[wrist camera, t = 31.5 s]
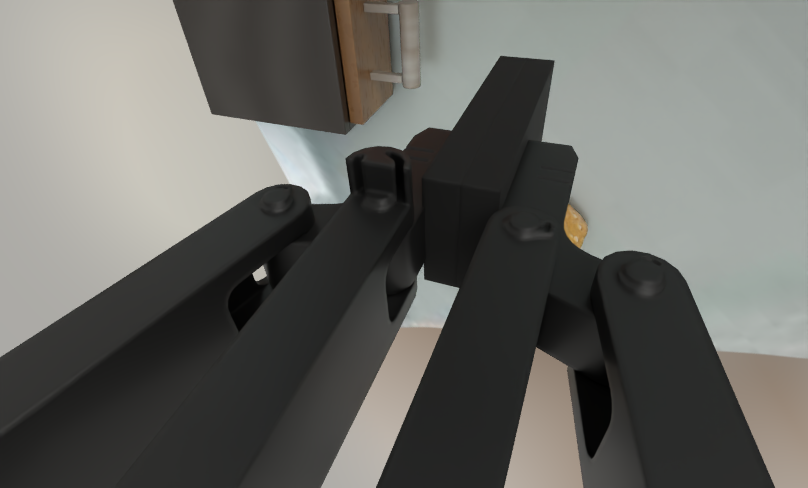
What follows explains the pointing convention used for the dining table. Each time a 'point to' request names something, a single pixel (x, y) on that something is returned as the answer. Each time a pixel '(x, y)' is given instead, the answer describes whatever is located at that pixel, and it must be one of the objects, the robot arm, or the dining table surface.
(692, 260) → the dining table surface
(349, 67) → the drawer
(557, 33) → the dining table surface
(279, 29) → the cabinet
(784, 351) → the dining table surface
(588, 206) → the dining table surface
